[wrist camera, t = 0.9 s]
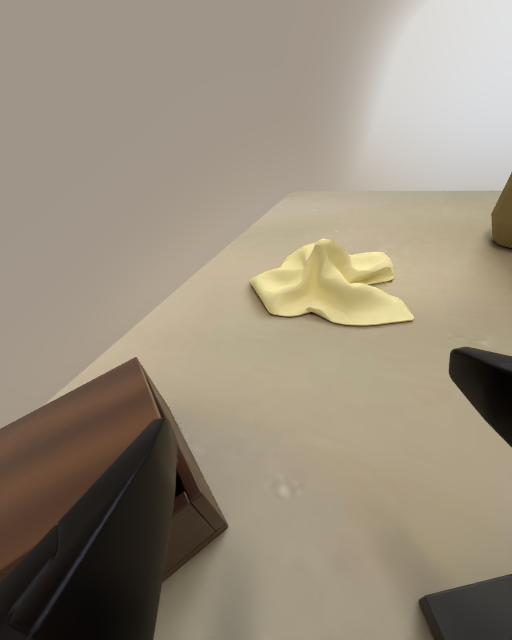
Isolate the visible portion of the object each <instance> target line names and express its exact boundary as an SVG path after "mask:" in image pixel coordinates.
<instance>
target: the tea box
mask: <svg viewBox="0 0 512 640" xmlns="http://www.w3.org/2000/svg"><path fill="white" fill-rule="evenodd" d="M141 366H142V365H141ZM142 369H143V371H144V374H145V377H146V379H147V382H148V384H149V387H150V390H151V392H152V395H153V397H154V400H155V403H156V405H157V408H158V411H159V413H160V416H161V418H162V417H167V418H168V419H169V421H170V423H171V425H172V428H173V430H174V432H175V435H176V438H177V460H178V465H176V485H175V497H174V505H173V512H172V518H171V525H170V532H169V538H168V545H167V551H166V558H165V565H164V571H163V578H162V582H163V581H164V580H165V579H167V578H168V577H169V576H170V575H171V574H173V573H174V572H175V571H176V570H177V569H179V568H180V567H181V566H182V565H183V564H185V563H186V562H187V561H188V560H189V559H191V558H192V557H193V556H194V555H195V554H196V553H198V552H199V551H200V550H201V549H202V548H204V547H205V546H206V545H207V544H208V543H210V542H211V541H212V540H213V539H214V538H216V537H217V536H218V535H219V534H220V533H222V532H223V531H224V530H225V529H226V528H228V524H227V522H226V520H225V518H224V516H223V514H222V512H221V510H220V508H219V506H218V504H217V502H216V500H215V498H214V496H213V494H212V492H211V491H210V489H209V487H208V485H207V483H206V481H205V479H204V477H203V475H202V473H201V471H200V469H199V467H198V465H197V463H196V461H195V459H194V457H193V455H192V453H191V451H190V449H189V447H188V445H187V443H186V441H185V439H184V437H183V435H182V433H181V431H180V429H179V427H178V425H177V423H176V421H175V419H174V417H173V415H172V413H171V411H170V409H169V407H168V405H167V404H166V402H165V401H164V399H163V398H162V396H161V395H160V393H159V391H158V390H157V388H156V387H155V385H154V384H153V382H152V381H151V379H150V377H149V376H148V374H147V373H146V371H145V370H144V368H143V366H142Z"/></svg>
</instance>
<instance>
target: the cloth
mask: <svg viewBox="0 0 512 640" xmlns="http://www.w3.org/2000/svg"><path fill="white" fill-rule="evenodd" d="M393 275H394V266H393V264H392V262H391V260H390V259H389V258H388V257H387V256H386V255H385V254H384V253H381V252H369V253H362V254H355V255H350V256H349V254H348V253H347V252H346V251H345V250H344V249H342V248H341V247H340V246H339V245H337V244H336V243H335V242H334V241H332V240H329V239H325V238H323V239H320V240H319V241H318V242H317V243H314V244H309V245H306V246H304V247H301V248H300V249H298V250H297V251H296V252H294V253H292V254H290V255H289V256H288V257H287V258H286V259H285V261H284V262H283V263H282V265H281V266H280V268H276V269H271V270H269V271H266V272H264V273H262V274H260V275H258V276H256V277H254V278H252V279H250V280H249V283H250V284H251V285H252V286H253V288H254V289H255V291H256V292H257V294H258V295H259V297H260V298H261V300H262V302H263V303H264V305H265V307H266V308H267V310H268V311H269V313H271V314H274V315H279V316H286V317H293V316H299V315H302V314H306V313H309V312H314V313H316V314H318V315H320V316H322V317H324V318H326V319H327V320H329V321H331V322H334V323H337V324H343V325H354V326H368V325H380V324H388V323H396V322H405V321H412V320H414V317H413V315H412V314H411V312H410V311H409V309H408V308H407V307H406V305H405V304H404V303H403V302H402V300H401V299H399V298H397V297H395V296H390V295H389V294H387V293H385V292H383V291H381V290H380V289H378V288H376V287H372V286H369V285H370V284H376V283H381V282H388V281H391V280H393V278H394V277H393Z"/></svg>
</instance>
